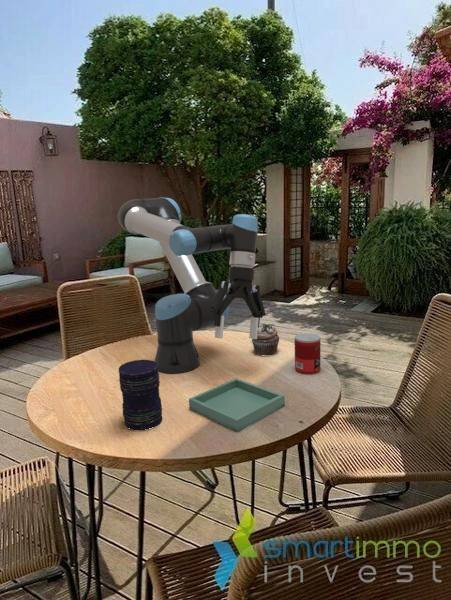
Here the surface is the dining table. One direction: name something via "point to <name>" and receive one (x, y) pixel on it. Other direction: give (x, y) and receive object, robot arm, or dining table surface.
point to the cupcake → (266, 340)
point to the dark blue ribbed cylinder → (140, 394)
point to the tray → (236, 403)
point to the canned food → (307, 353)
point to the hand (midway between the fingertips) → (236, 338)
